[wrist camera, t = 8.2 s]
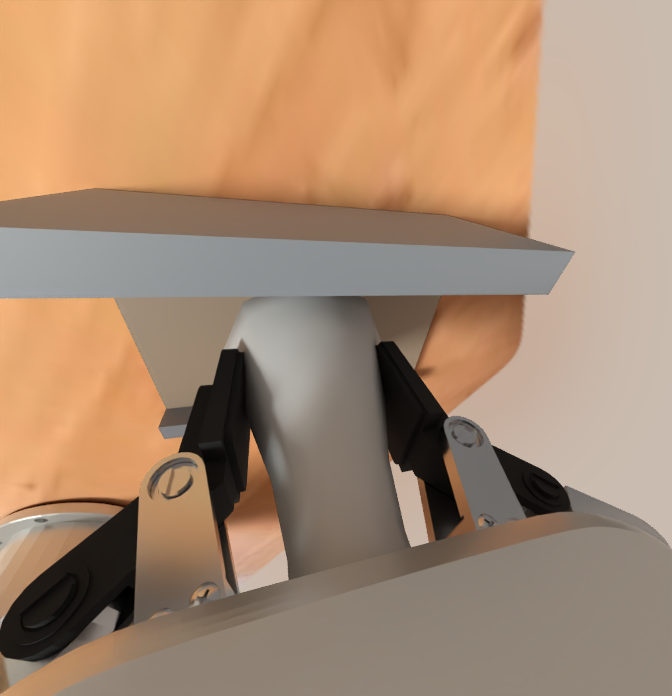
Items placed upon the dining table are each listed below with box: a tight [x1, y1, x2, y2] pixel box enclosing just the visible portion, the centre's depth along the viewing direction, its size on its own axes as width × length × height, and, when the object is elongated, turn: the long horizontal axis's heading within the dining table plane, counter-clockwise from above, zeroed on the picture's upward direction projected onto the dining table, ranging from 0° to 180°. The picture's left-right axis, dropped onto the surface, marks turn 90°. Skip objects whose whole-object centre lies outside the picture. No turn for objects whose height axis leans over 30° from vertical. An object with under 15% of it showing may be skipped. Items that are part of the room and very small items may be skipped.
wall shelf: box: [0, 188, 575, 439], centre depth 14 cm, size 14×18×8 cm
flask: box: [224, 296, 411, 580], centre depth 8 cm, size 7×7×10 cm
